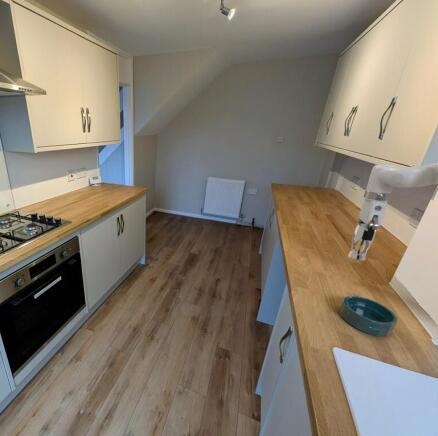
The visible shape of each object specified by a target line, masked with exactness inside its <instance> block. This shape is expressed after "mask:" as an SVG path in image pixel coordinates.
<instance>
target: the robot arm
mask: <svg viewBox="0 0 438 436" xmlns="http://www.w3.org/2000/svg"><path fill="white" fill-rule="evenodd" d="M433 185H438V162H434V163H430V164H426V165H414V166H412V165H411V166H398V165H395V164H383V163H382V164H375V165H374V166H373V167H372V169H371V172H370V175H369V178H368V181H367V184H366V187H365V190H364V194H363V197H362V199H364V200H363V202H362V205H361V208H360V210H359V213H358V218H359V219H358V221H357V223H364V224H366V230H364V232H363V235H362V240H368V241H372V238H373V236H374V233H375V231H376V232H377V230H376V229H378V228H379V227H381V226H382V224H383V221H384V217H385V214H386V209H387V204H388V202H389V200H390V198H391V195H392V192H393V189H394V188H397V189H398V188H399V189H408V188H409V189H410V188H423V187H428V186H433ZM369 226H370V227H369Z"/></svg>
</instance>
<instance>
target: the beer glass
mask: <svg viewBox="0 0 438 436" xmlns="http://www.w3.org/2000/svg"><path fill="white" fill-rule="evenodd" d="M369 227H370V226H369ZM377 229H378V228H377ZM377 229H376V231H375V233H374V236H373V238H372V241H368V240H362V235H363V232H364V230H366V224H364V223H358V222H357V223H356V224H355V226H354V229H353V231H352V235H351V246H350V249H349V252H348V253H347V254H346V255H347V257H348V258H349V259H351V260H354V261H360V262H364V261H366V258H367V252H368V250H369V248H370V247H371V245H372V244H373V242H374V240H375V237H376V233H377Z"/></svg>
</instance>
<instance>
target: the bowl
mask: <svg viewBox="0 0 438 436" xmlns="http://www.w3.org/2000/svg"><path fill="white" fill-rule="evenodd" d="M339 314H340V316H341V318H342V319H343V320H344V321H345V322H346V323H347V324H349V325H350V326H352V327H354V328H355V329H357V330H360V331H361V332H363V333H366V334H369V335H373V336H376V337H388V336H390V335H392V334H393V331H394V329H395V327H396V325H397V324H398V317H397V315H396V314H395V312H393V311H392V310H391V309H390V308H388V307H387V306H385V305H383V304H382V303H380V302H378V301H375V300H373V299H370V298H367V297H363V296H359V295H349V296H345V297H344V298H343V301H342V304H341V306H340V309H339Z"/></svg>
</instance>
